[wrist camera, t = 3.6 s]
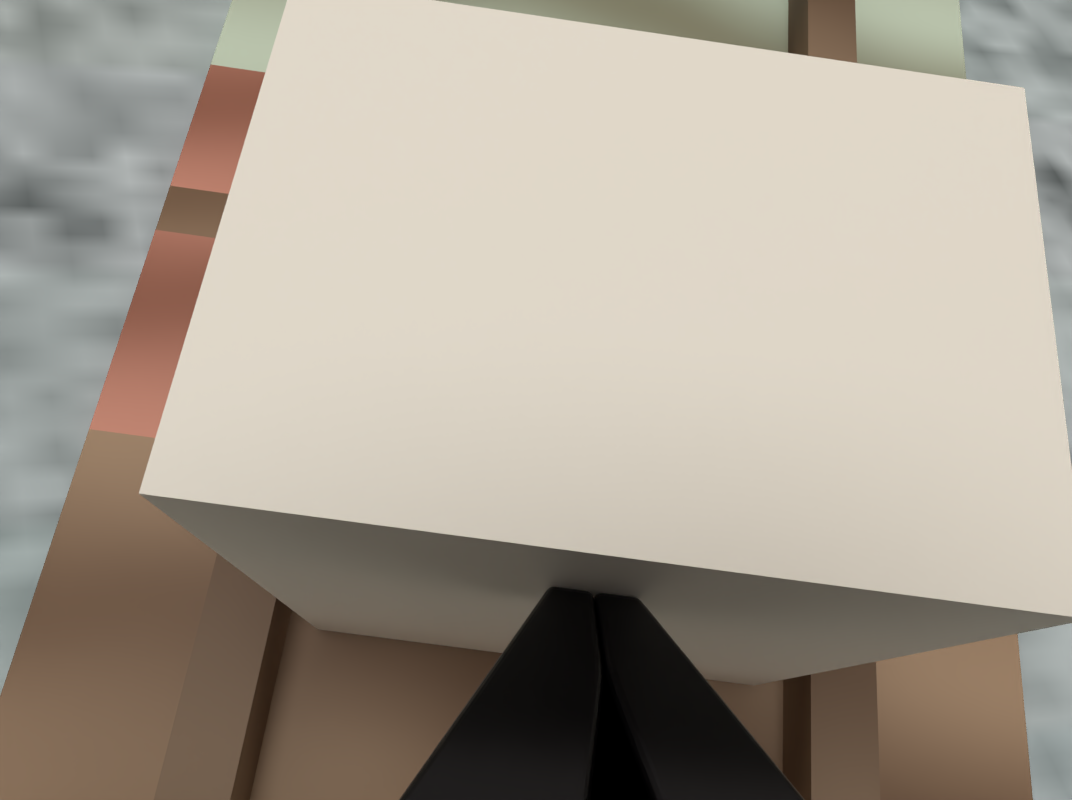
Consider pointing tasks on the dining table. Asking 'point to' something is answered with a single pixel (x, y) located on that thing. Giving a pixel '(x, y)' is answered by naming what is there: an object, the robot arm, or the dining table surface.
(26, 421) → the dining table surface
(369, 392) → the cream block
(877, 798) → the board
